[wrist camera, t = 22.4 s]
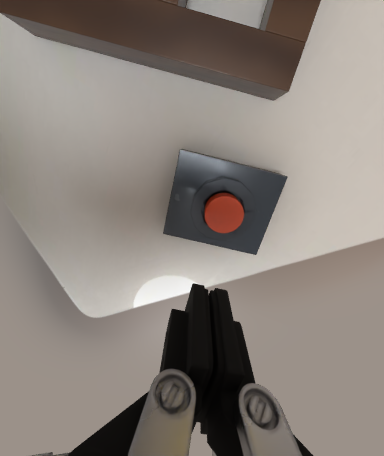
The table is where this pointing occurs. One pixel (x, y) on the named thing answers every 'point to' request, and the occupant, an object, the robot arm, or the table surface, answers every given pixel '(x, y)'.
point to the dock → (179, 37)
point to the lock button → (223, 213)
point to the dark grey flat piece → (221, 183)
